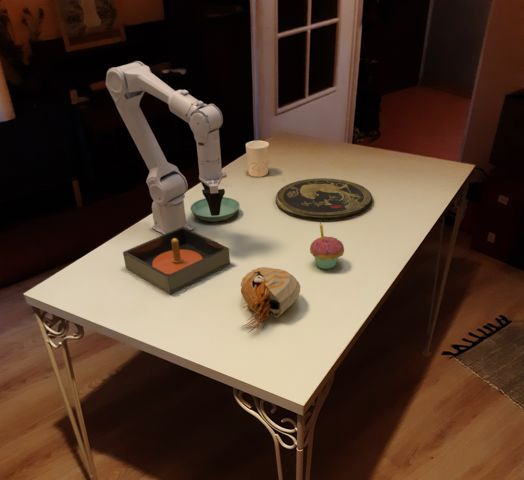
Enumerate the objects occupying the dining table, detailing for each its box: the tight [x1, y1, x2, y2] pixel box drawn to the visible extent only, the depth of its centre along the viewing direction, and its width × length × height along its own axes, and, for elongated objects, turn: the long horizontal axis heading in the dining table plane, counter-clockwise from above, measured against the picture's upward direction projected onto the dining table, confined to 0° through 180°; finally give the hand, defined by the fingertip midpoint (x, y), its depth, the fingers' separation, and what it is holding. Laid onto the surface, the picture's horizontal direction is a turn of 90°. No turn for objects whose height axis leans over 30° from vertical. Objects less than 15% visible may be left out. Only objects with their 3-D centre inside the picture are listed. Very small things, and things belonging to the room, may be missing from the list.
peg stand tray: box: [122, 227, 231, 295], centre depth 144 cm, size 19×20×5 cm
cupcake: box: [309, 221, 345, 270], centre depth 141 cm, size 9×8×12 cm
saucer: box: [189, 196, 241, 223], centre depth 169 cm, size 15×15×3 cm
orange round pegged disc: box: [152, 238, 203, 275], centre depth 143 cm, size 13×13×7 cm
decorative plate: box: [275, 177, 374, 221], centre depth 175 cm, size 30×2×30 cm
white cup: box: [245, 140, 270, 178], centre depth 192 cm, size 8×8×10 cm
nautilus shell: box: [240, 266, 301, 334], centre depth 126 cm, size 8×22×15 cm
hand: (213, 209), depth 150 cm, fingers open, 7 cm apart
